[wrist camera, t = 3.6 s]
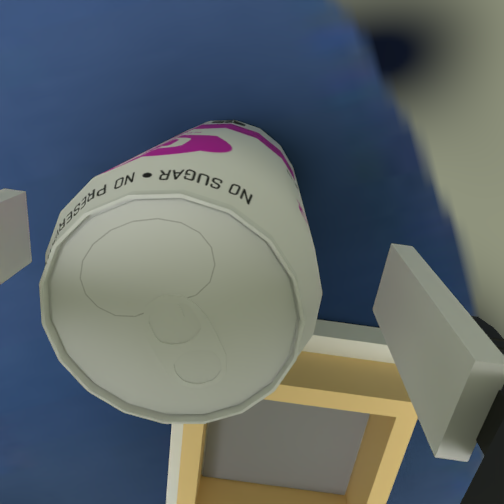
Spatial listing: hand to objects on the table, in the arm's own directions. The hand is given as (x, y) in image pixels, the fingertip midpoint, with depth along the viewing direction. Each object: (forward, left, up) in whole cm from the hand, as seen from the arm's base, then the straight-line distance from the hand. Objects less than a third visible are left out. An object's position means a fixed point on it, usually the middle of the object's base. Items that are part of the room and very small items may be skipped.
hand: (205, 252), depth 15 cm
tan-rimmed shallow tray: (-19, -6, -11) cm, 23 cm away
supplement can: (0, 0, -11) cm, 11 cm away
